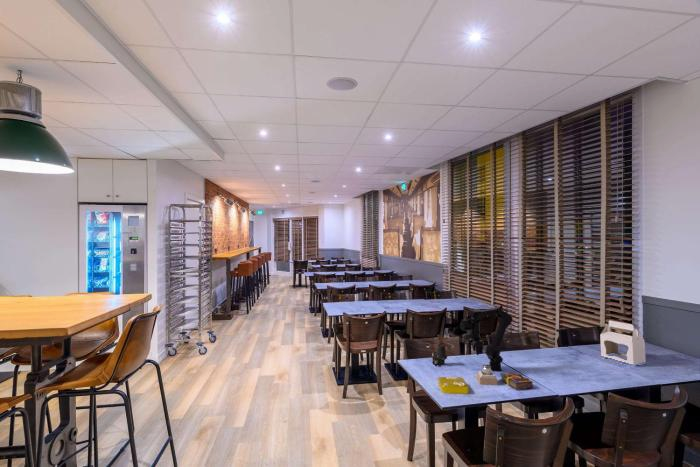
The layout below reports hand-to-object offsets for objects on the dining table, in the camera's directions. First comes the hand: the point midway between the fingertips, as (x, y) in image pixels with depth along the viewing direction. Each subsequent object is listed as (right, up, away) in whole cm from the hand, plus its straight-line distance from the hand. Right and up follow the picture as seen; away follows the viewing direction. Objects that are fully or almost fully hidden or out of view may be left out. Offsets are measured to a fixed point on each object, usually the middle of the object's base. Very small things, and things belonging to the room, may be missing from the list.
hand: (475, 352), depth 225 cm
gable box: (+114, -13, +19) cm, 117 cm away
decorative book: (+16, -12, -23) cm, 30 cm away
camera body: (0, -12, -19) cm, 22 cm away
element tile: (-24, -12, -27) cm, 38 cm away
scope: (-20, -14, +14) cm, 28 cm away
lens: (0, -8, -18) cm, 20 cm away
